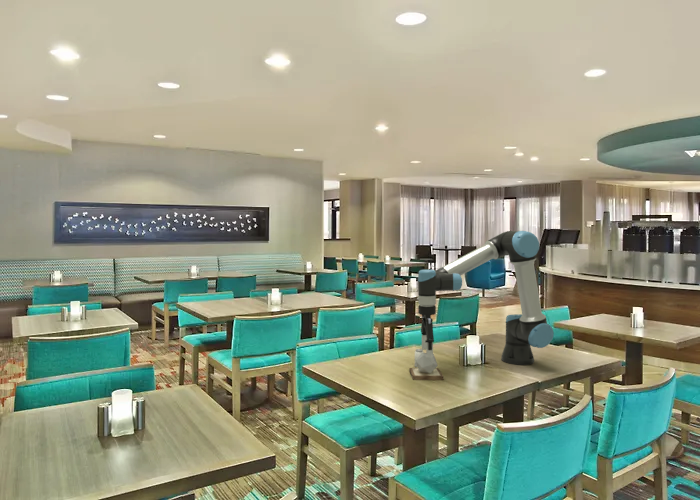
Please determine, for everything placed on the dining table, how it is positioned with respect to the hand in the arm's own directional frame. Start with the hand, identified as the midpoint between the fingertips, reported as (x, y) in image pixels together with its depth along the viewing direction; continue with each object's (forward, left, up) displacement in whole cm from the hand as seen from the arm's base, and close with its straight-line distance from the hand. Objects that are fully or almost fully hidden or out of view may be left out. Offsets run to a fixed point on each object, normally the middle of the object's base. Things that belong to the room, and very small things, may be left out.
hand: (427, 353), depth 221 cm
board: (0, 0, -10) cm, 10 cm away
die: (0, 0, -8) cm, 8 cm away
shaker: (+1, -15, -10) cm, 18 cm away
